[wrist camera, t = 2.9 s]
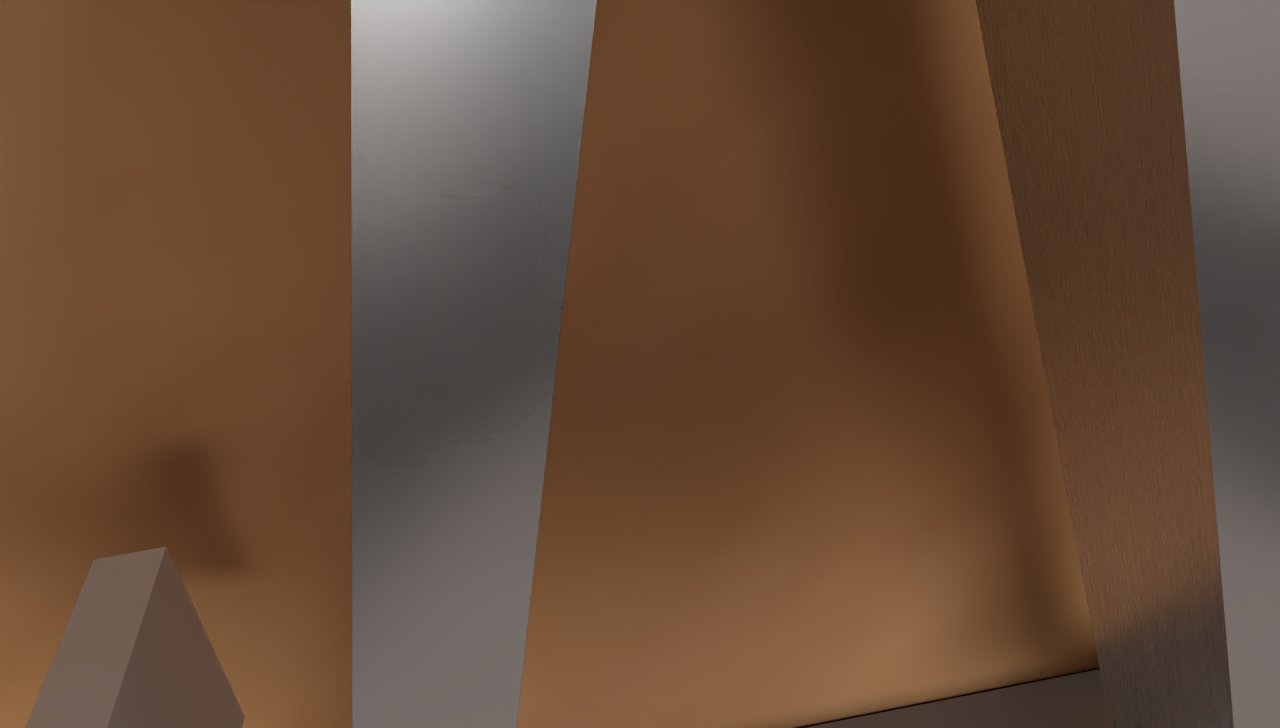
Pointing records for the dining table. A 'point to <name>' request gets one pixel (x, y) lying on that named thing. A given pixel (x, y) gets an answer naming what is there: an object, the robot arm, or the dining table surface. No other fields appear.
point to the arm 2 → (1158, 329)
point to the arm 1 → (455, 339)
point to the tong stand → (1004, 708)
